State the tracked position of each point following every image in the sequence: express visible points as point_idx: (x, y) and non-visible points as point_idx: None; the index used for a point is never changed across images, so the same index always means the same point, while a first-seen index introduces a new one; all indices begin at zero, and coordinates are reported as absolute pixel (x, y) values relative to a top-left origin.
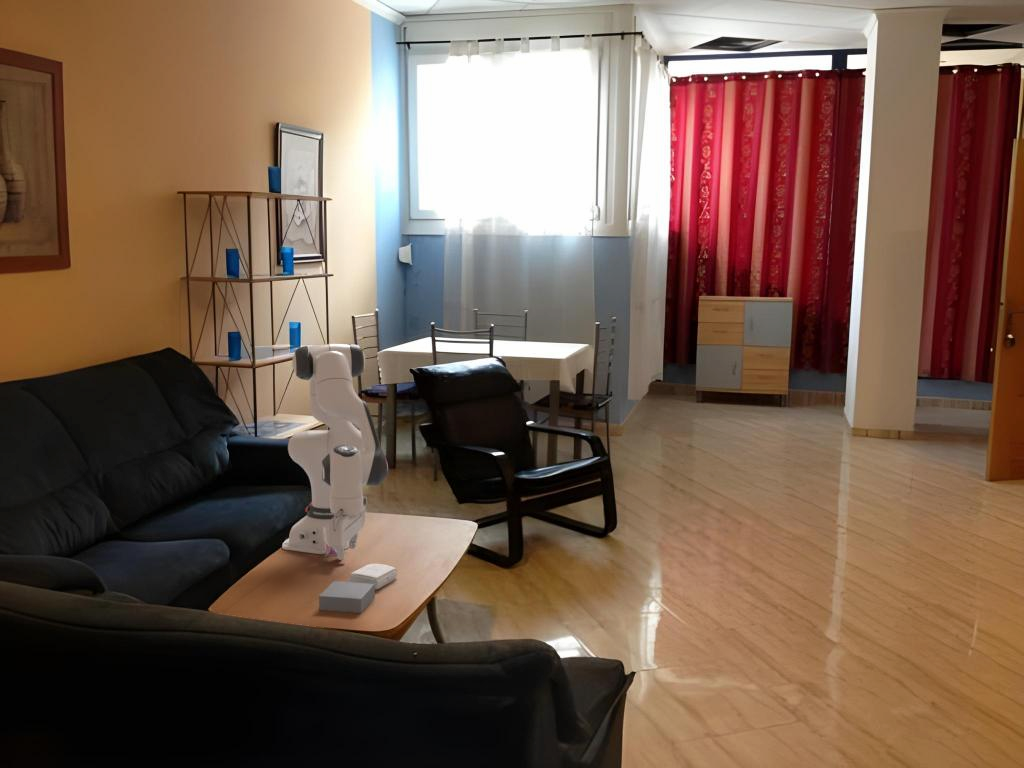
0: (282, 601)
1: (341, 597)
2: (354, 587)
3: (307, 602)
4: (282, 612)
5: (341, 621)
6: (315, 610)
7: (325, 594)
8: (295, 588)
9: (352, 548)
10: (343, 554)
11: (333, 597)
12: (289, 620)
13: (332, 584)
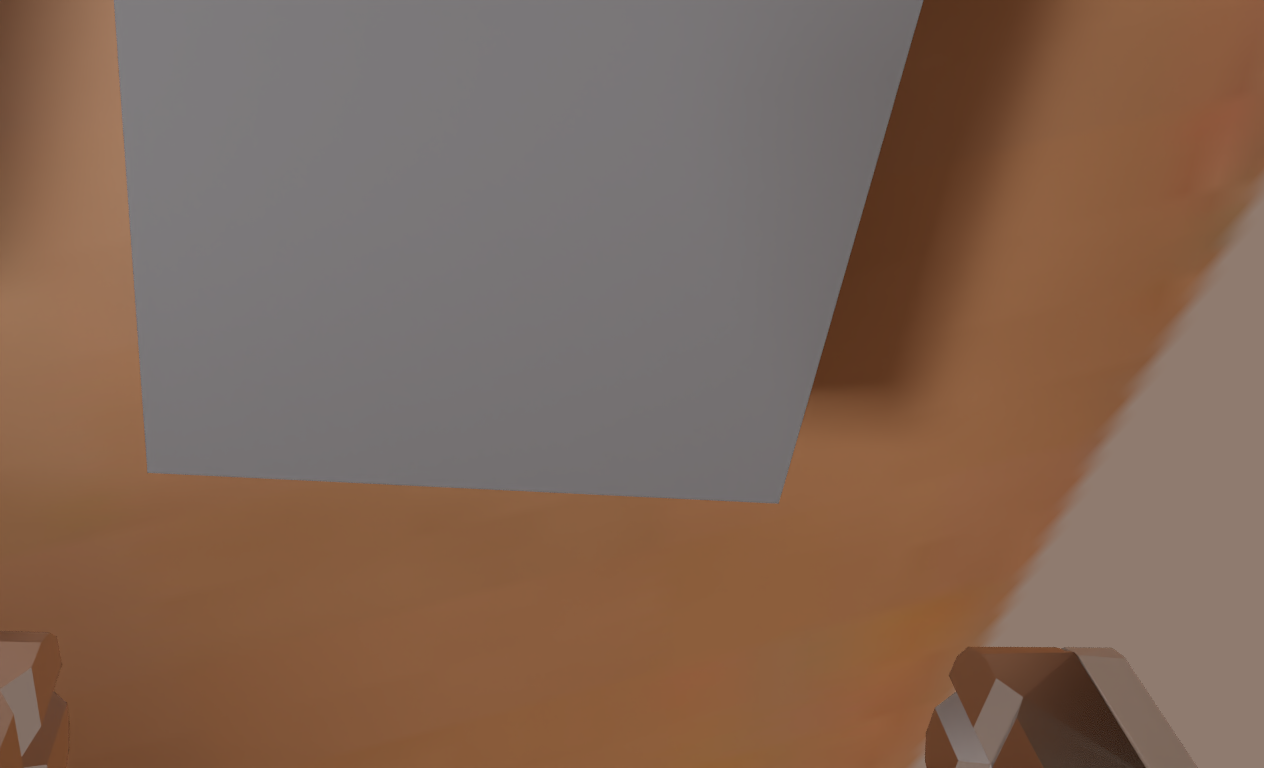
0: (501, 752)
1: (854, 215)
2: (384, 109)
3: (506, 557)
4: (791, 675)
5: (1134, 57)
6: None
7: (725, 446)
8: (102, 760)
9: (53, 673)
10: (1188, 754)
11: (829, 323)
12: (1002, 571)
13: (301, 459)
